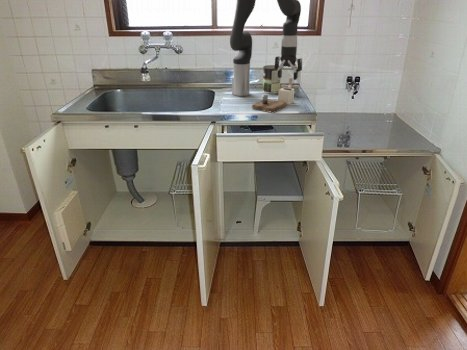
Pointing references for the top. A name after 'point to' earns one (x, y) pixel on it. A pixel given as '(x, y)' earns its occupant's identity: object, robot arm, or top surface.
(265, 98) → the metal cylinder puck
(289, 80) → the pipe connector
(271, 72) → the coffee can
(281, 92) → the cream rectangular block
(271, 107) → the board
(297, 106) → the top surface
